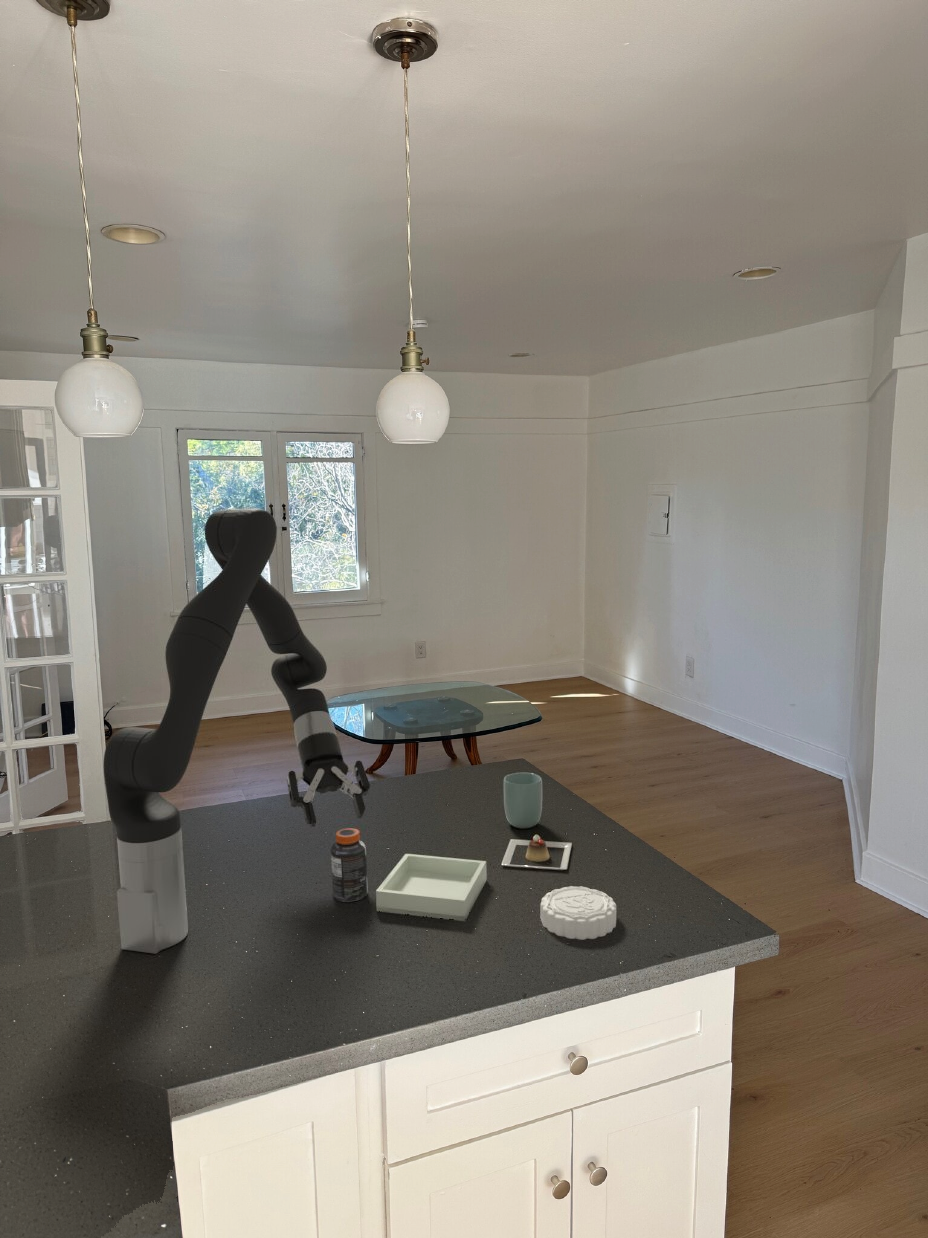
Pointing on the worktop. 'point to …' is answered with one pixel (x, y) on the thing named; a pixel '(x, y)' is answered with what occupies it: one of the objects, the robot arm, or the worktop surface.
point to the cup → (523, 799)
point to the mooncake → (578, 912)
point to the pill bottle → (349, 866)
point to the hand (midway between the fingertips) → (337, 820)
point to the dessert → (537, 852)
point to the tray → (432, 887)
